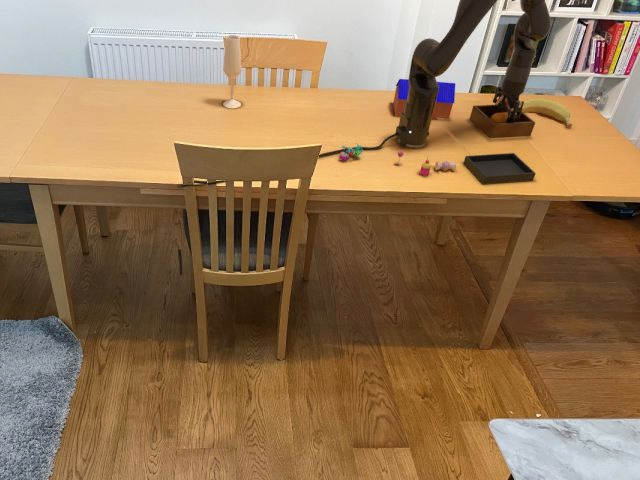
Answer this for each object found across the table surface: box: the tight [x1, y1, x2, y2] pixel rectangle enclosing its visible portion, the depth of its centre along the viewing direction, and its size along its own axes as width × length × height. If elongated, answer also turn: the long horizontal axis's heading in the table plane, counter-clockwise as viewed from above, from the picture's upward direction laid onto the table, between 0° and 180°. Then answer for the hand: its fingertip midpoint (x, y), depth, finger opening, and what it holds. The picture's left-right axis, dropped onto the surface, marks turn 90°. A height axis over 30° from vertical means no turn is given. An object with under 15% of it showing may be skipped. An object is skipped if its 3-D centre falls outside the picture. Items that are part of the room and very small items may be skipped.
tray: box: [463, 152, 536, 185], centre depth 185 cm, size 17×13×3 cm
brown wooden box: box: [469, 104, 536, 139], centre depth 208 cm, size 16×16×6 cm
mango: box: [490, 112, 512, 124], centre depth 208 cm, size 8×5×5 cm, turn 101°
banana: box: [522, 98, 573, 129], centre depth 217 cm, size 14×6×20 cm
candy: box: [397, 150, 457, 177], centre depth 183 cm, size 18×8×6 cm, turn 91°
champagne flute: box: [222, 34, 243, 109], centre depth 209 cm, size 7×7×24 cm
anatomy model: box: [339, 142, 364, 161], centre depth 188 cm, size 5×8×7 cm
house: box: [392, 78, 456, 120], centre depth 215 cm, size 12×20×12 cm, turn 84°
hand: (501, 122), depth 208 cm, fingers open, 8 cm apart
